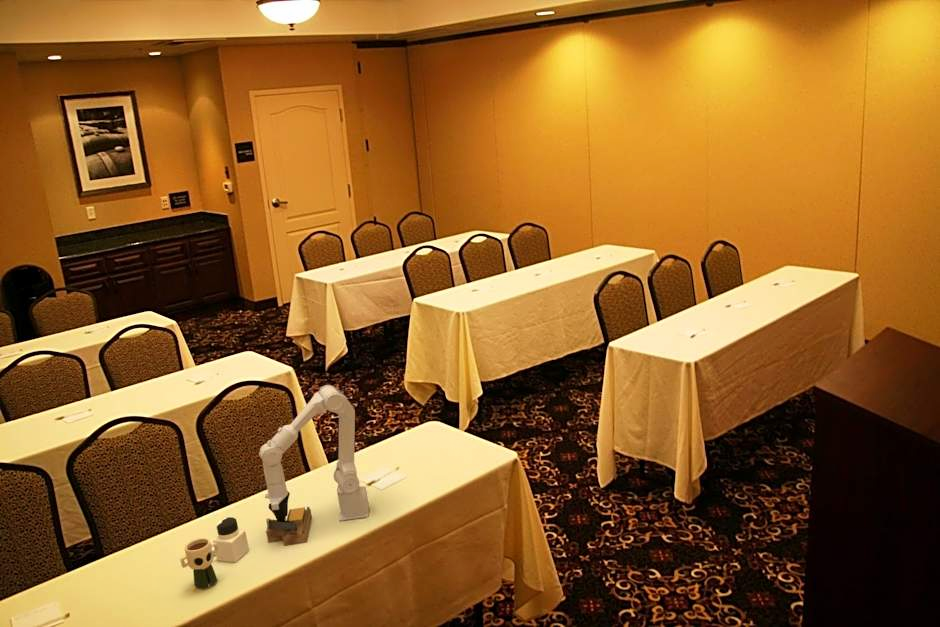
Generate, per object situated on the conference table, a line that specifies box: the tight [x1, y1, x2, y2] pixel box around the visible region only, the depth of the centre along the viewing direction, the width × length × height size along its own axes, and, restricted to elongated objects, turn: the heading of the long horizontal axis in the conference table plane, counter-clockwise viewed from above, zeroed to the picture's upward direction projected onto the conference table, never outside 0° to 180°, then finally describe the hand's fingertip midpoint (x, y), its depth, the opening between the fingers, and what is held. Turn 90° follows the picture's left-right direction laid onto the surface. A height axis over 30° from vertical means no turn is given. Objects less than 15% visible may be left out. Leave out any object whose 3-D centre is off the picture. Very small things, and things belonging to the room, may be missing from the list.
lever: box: [265, 518, 297, 532], centre depth 243 cm, size 11×1×3 cm, turn 69°
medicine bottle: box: [212, 516, 250, 563], centre depth 238 cm, size 7×7×12 cm
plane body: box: [265, 506, 313, 547], centre depth 249 cm, size 12×16×4 cm
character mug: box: [179, 537, 218, 590], centre depth 224 cm, size 11×7×13 cm, turn 131°
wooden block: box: [288, 506, 307, 526], centre depth 250 cm, size 4×8×2 cm, turn 5°
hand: (283, 519), depth 247 cm, fingers open, 4 cm apart
